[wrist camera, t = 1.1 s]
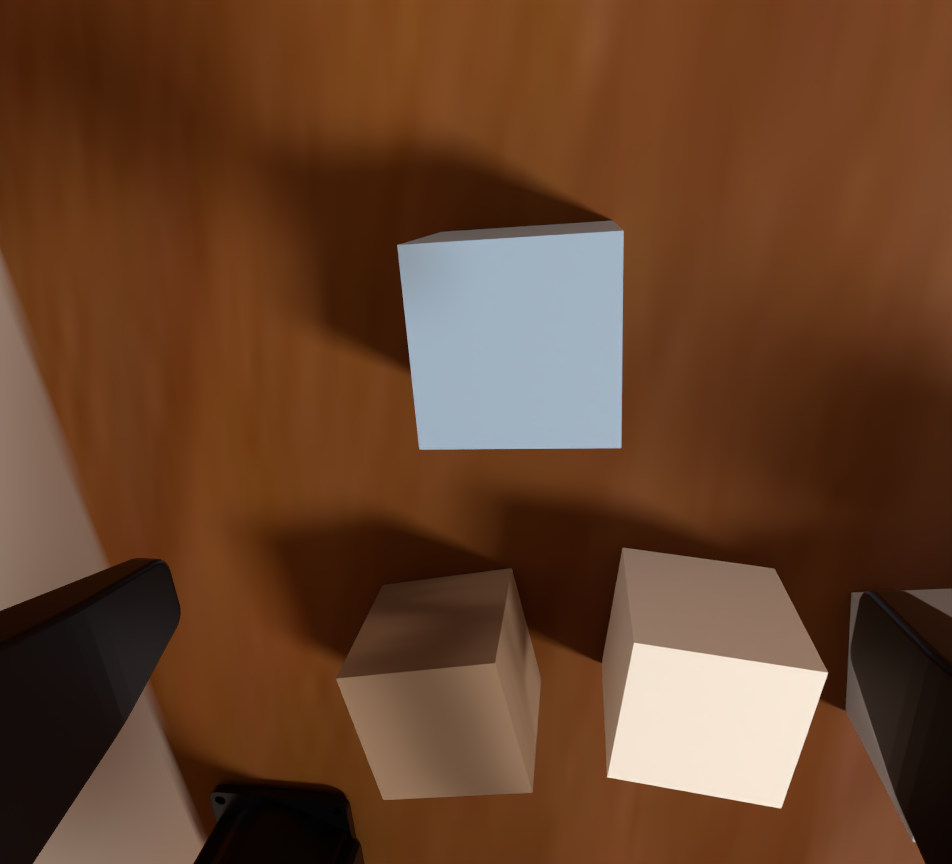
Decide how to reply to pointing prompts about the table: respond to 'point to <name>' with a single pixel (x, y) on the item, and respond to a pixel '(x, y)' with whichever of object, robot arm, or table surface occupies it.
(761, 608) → the cream cube
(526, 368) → the bluish grey cube
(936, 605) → the grey cube
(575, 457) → the table surface
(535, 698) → the walnut cube
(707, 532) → the table surface
